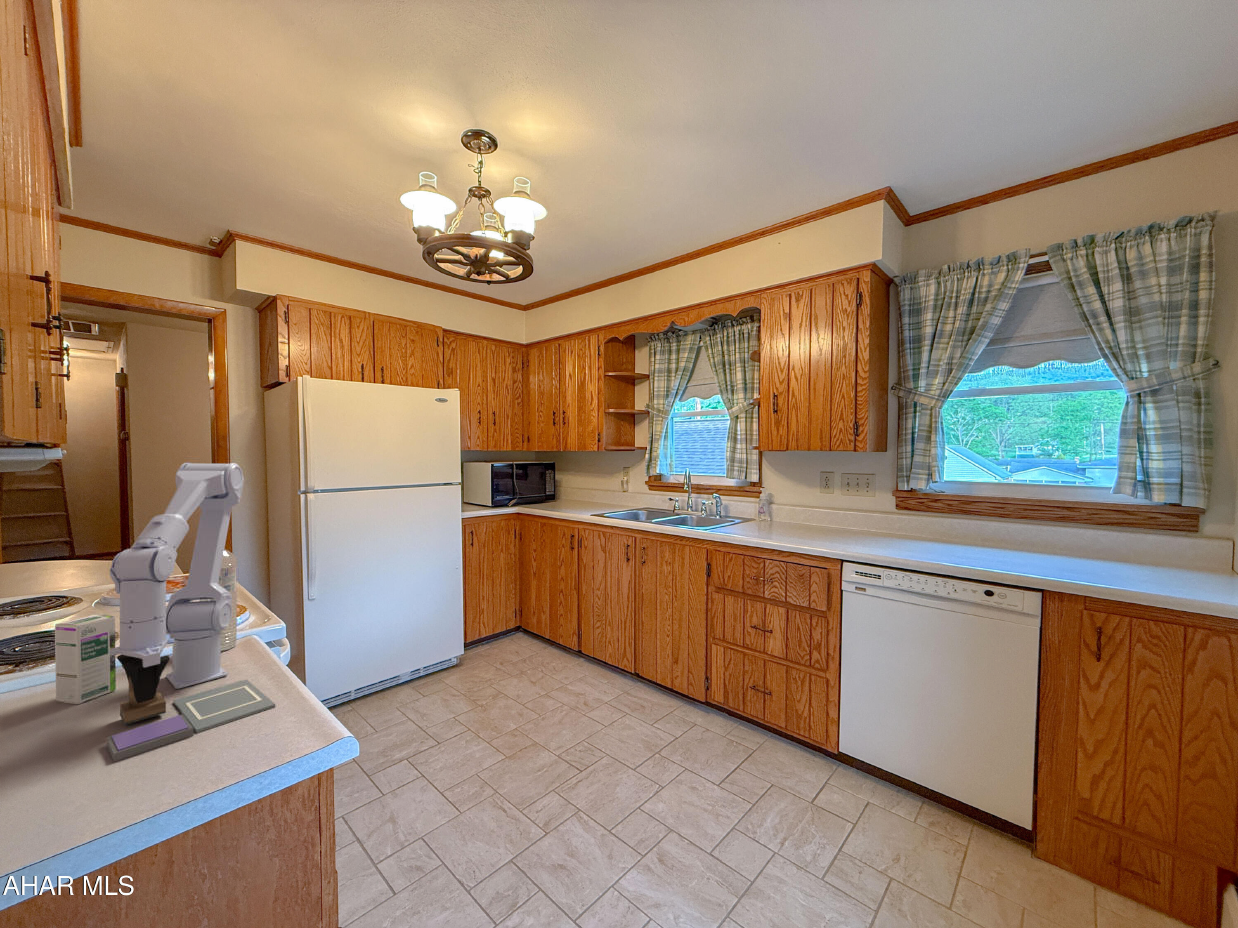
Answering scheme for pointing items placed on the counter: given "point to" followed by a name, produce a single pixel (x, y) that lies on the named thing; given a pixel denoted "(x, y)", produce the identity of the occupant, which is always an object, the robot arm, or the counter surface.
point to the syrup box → (85, 658)
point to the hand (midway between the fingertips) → (143, 696)
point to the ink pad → (148, 737)
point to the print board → (222, 705)
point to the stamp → (141, 707)
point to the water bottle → (229, 583)
